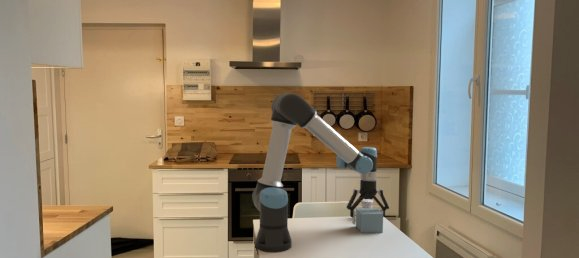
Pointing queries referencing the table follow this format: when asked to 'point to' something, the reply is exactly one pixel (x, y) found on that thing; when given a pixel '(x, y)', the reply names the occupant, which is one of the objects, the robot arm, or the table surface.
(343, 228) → the table surface
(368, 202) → the smoothie
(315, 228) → the table surface
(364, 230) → the blue-grey block
